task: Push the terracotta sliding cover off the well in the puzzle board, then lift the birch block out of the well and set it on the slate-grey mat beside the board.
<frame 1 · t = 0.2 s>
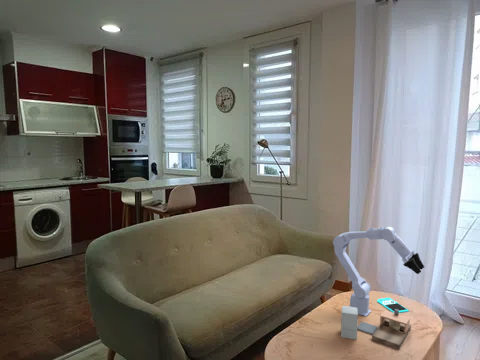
hand: (421, 270, 164), 30 cm above the table, tool tilted 45°, fingers open, 7 cm apart
handheld game console: (391, 306, 192), on the table
slide cover: (394, 319, 166), point 6 cm above the table, slide at 0.0 cm
birch block: (394, 330, 167), resting in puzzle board
slate mat: (366, 328, 169), on the table
supplement box: (348, 335, 163), on the table
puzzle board: (391, 333, 164), on the table
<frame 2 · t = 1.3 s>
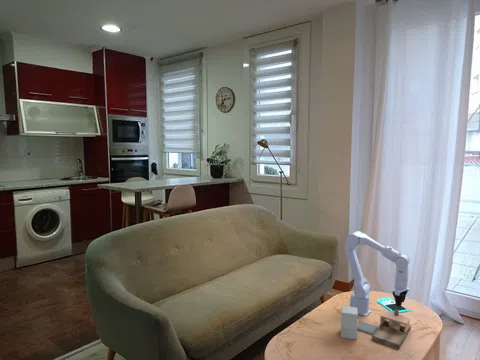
hand: (399, 303, 172), 10 cm above the table, tool pointing down, fingers open, 5 cm apart
nothing on the table moved.
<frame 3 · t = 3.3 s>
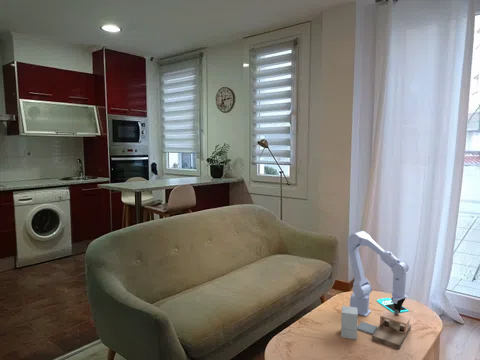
hand: (397, 311, 170), 8 cm above the table, tool pointing down, fingers closed
slide cover: (394, 319, 166), point 6 cm above the table, slide at 0.2 cm, touching gripper
everything else where it was.
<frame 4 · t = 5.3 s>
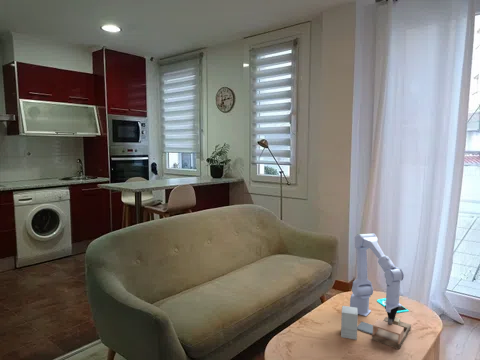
hand: (391, 320, 161), 8 cm above the table, tool pointing down, fingers closed
slide cover: (388, 328, 158), point 6 cm above the table, slide at 11.3 cm, touching gripper
everything else where it was.
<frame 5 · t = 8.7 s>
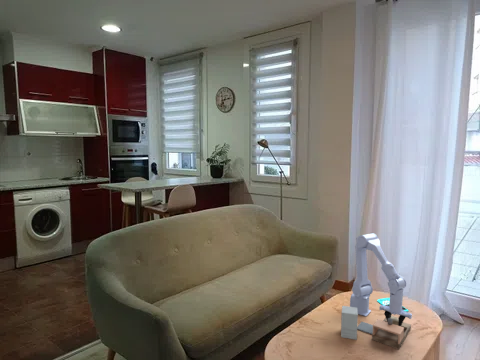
hand: (394, 327, 167), 1 cm above the table, tool pointing down, fingers closed on birch block, 4 cm apart
slide cover: (388, 328, 158), point 6 cm above the table, slide at 11.3 cm
birch block: (394, 330, 167), resting in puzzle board, touching gripper
everything else where it was.
when the fingers open (4 cm above the table, at t = 12.9 s): birch block drops 2 cm, resting on slate mat.
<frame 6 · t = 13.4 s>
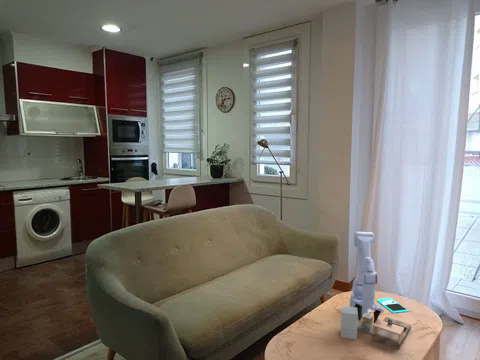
hand: (367, 321, 168), 4 cm above the table, tool pointing down, fingers open, 7 cm apart
slide cover: (388, 328, 158), point 6 cm above the table, slide at 11.3 cm, touching gripper
birch block: (366, 327, 168), point 1 cm above the table, touching slate mat
everything else where it was.
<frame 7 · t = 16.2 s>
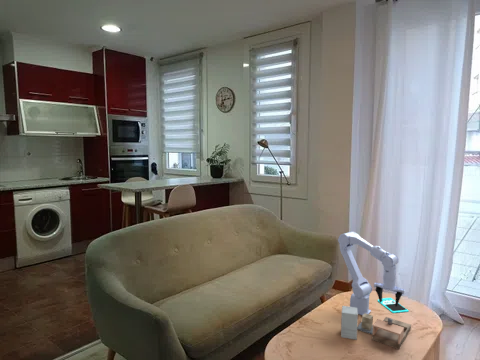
hand: (388, 303, 173), 10 cm above the table, tool pointing down, fingers open, 7 cm apart
slide cover: (388, 328, 158), point 6 cm above the table, slide at 11.3 cm
everything else where it was.
at the end: slide cover slide at 11.3 cm; birch block inside the target area on the slate mat (0.1 cm from its centre), point 0.6 cm above the slate mat's base; birch block tilted 0° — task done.
